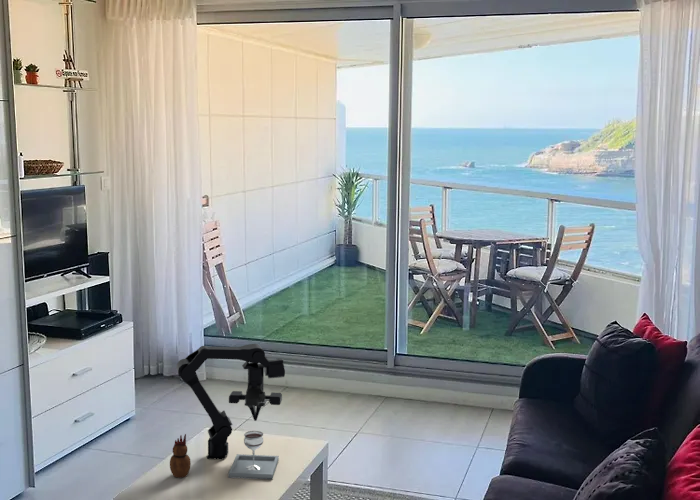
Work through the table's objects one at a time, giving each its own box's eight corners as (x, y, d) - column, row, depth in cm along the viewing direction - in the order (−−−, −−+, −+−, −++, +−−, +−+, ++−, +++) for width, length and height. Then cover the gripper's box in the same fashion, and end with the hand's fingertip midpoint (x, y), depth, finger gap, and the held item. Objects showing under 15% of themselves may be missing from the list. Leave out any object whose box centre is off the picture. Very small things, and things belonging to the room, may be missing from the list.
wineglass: (249, 461, 270) (249, 429, 269) (266, 465, 268) (266, 432, 266) (240, 469, 264) (240, 436, 262) (257, 472, 262) (257, 439, 260)
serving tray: (228, 477, 259) (228, 472, 259) (237, 458, 274) (237, 454, 274) (272, 479, 258) (272, 474, 258) (278, 460, 273) (278, 455, 273)
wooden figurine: (193, 473, 261) (193, 432, 259) (184, 481, 256) (184, 438, 254) (176, 470, 264) (175, 429, 261) (167, 477, 258) (166, 435, 256)
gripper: (225, 385, 269) (225, 427, 271) (278, 387, 268) (277, 429, 270) (231, 375, 280) (231, 416, 282) (282, 377, 279) (282, 418, 281)
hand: (255, 420), depth 279 cm, fingers closed
